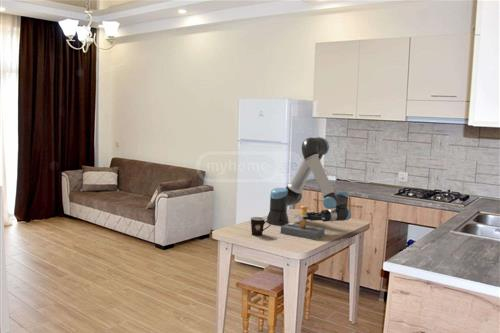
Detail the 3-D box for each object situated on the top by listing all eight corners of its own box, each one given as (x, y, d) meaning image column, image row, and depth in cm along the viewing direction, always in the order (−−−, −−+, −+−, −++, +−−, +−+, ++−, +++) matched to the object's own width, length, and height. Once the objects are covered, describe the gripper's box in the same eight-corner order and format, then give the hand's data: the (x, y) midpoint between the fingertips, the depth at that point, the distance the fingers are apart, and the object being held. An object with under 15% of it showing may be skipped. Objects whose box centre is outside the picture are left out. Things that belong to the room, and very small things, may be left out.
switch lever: (298, 232, 277) (299, 206, 275) (300, 231, 281) (302, 205, 279) (304, 233, 275) (306, 207, 273) (307, 232, 279) (308, 206, 277)
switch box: (280, 233, 278) (280, 226, 277) (289, 228, 290) (289, 222, 289) (316, 239, 267) (317, 232, 266) (324, 234, 279) (324, 227, 278)
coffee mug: (247, 235, 269) (248, 219, 268) (252, 231, 277) (253, 216, 276) (265, 237, 265) (266, 221, 264) (270, 234, 273) (271, 218, 272)
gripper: (335, 224, 276) (302, 226, 267) (320, 218, 292) (289, 219, 283) (336, 212, 275) (303, 214, 266) (321, 206, 291) (289, 208, 283)
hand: (296, 217), depth 275 cm, fingers open, 4 cm apart
